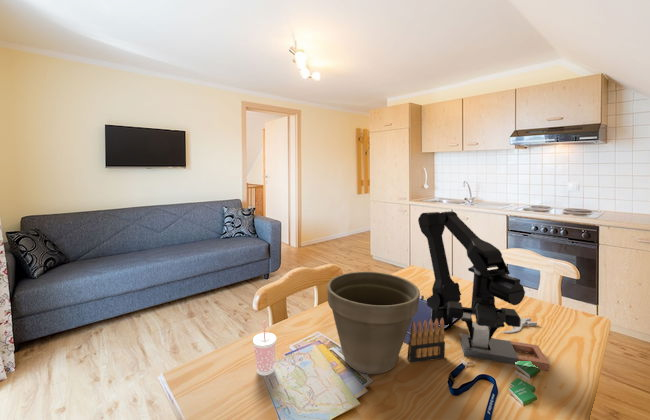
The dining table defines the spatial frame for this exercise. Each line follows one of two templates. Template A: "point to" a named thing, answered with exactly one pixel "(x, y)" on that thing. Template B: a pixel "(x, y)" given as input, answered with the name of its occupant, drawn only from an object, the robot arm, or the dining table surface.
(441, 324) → the ammunition clip
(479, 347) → the grey metal block
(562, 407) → the dining table surface
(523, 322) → the pliers
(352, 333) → the plant pot
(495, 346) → the grey copper slotted plate
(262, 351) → the beverage cup
